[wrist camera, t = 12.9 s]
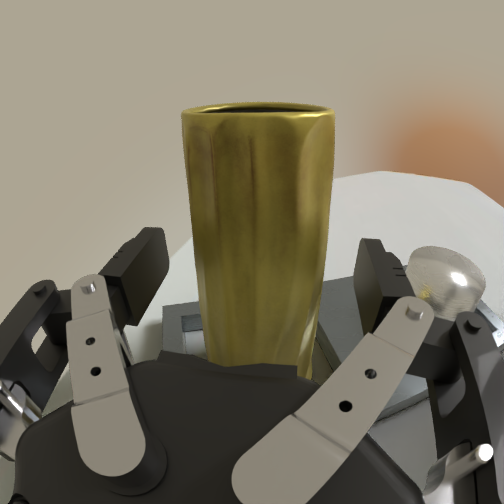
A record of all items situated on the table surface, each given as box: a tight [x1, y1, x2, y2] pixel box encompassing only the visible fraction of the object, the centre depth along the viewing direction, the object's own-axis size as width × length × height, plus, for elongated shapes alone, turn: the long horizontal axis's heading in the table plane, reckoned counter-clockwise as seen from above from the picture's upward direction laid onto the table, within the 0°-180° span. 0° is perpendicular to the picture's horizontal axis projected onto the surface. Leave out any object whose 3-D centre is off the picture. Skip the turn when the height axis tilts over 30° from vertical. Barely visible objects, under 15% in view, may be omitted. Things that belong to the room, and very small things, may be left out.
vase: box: [181, 102, 335, 380], centre depth 13 cm, size 6×6×14 cm
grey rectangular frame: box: [163, 246, 504, 421], centre depth 17 cm, size 24×11×5 cm, turn 103°
